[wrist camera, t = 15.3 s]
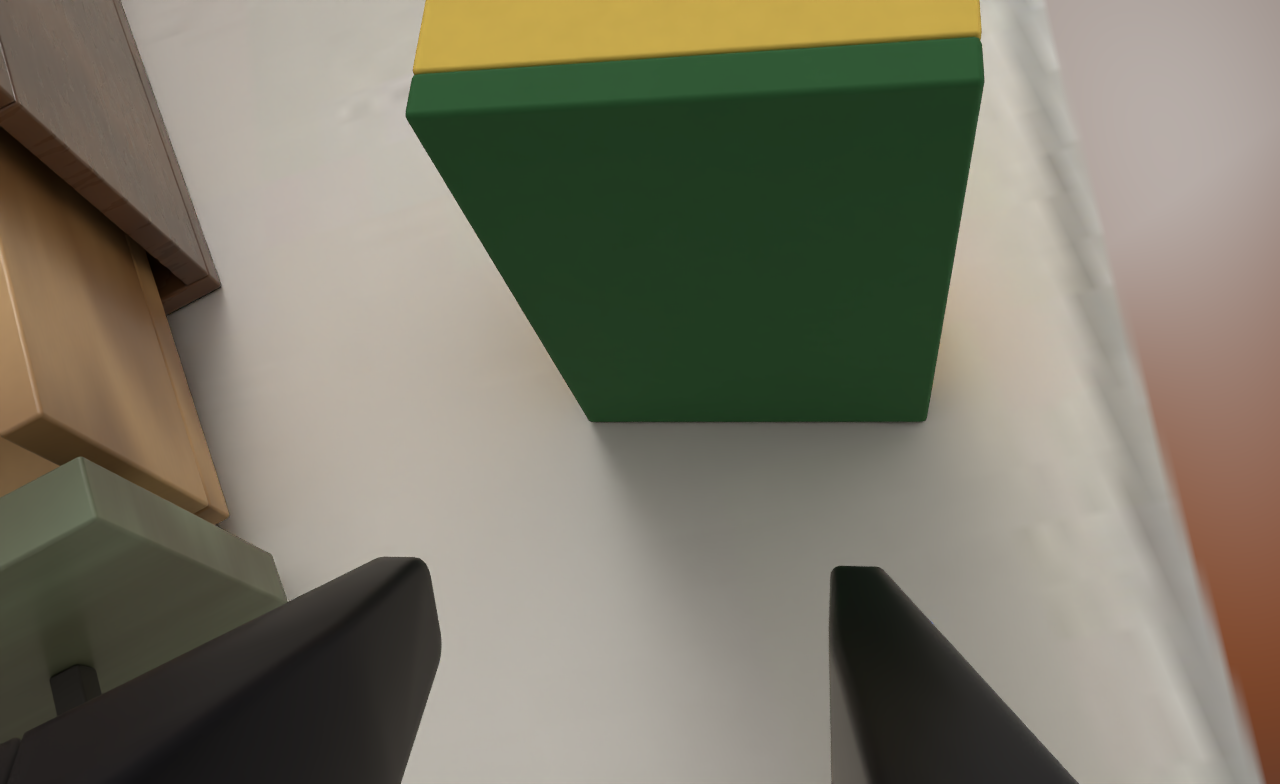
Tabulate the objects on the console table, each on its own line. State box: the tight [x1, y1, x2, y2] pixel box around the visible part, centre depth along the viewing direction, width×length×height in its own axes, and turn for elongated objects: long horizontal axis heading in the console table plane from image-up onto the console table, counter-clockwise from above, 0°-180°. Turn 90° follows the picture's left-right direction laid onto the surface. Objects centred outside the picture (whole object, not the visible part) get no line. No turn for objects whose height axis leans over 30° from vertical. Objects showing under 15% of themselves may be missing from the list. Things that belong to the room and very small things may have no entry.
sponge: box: [406, 0, 984, 422], centre depth 18 cm, size 4×7×10 cm, turn 86°
